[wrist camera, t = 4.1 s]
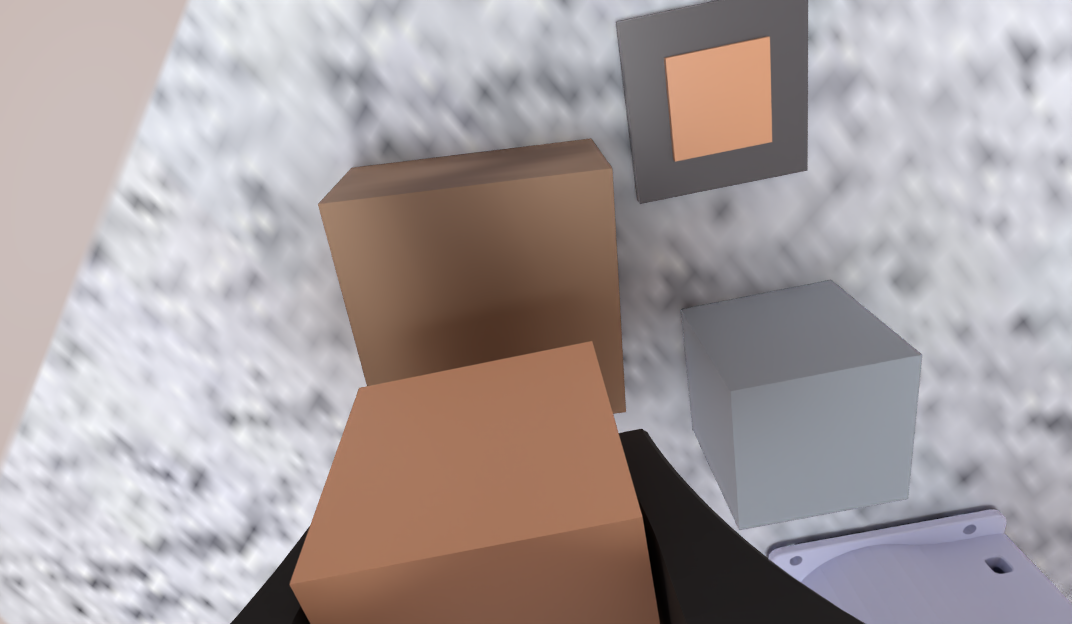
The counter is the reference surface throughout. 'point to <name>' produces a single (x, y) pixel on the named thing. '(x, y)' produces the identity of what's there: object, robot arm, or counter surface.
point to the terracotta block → (480, 503)
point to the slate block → (801, 403)
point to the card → (715, 94)
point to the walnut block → (479, 259)
